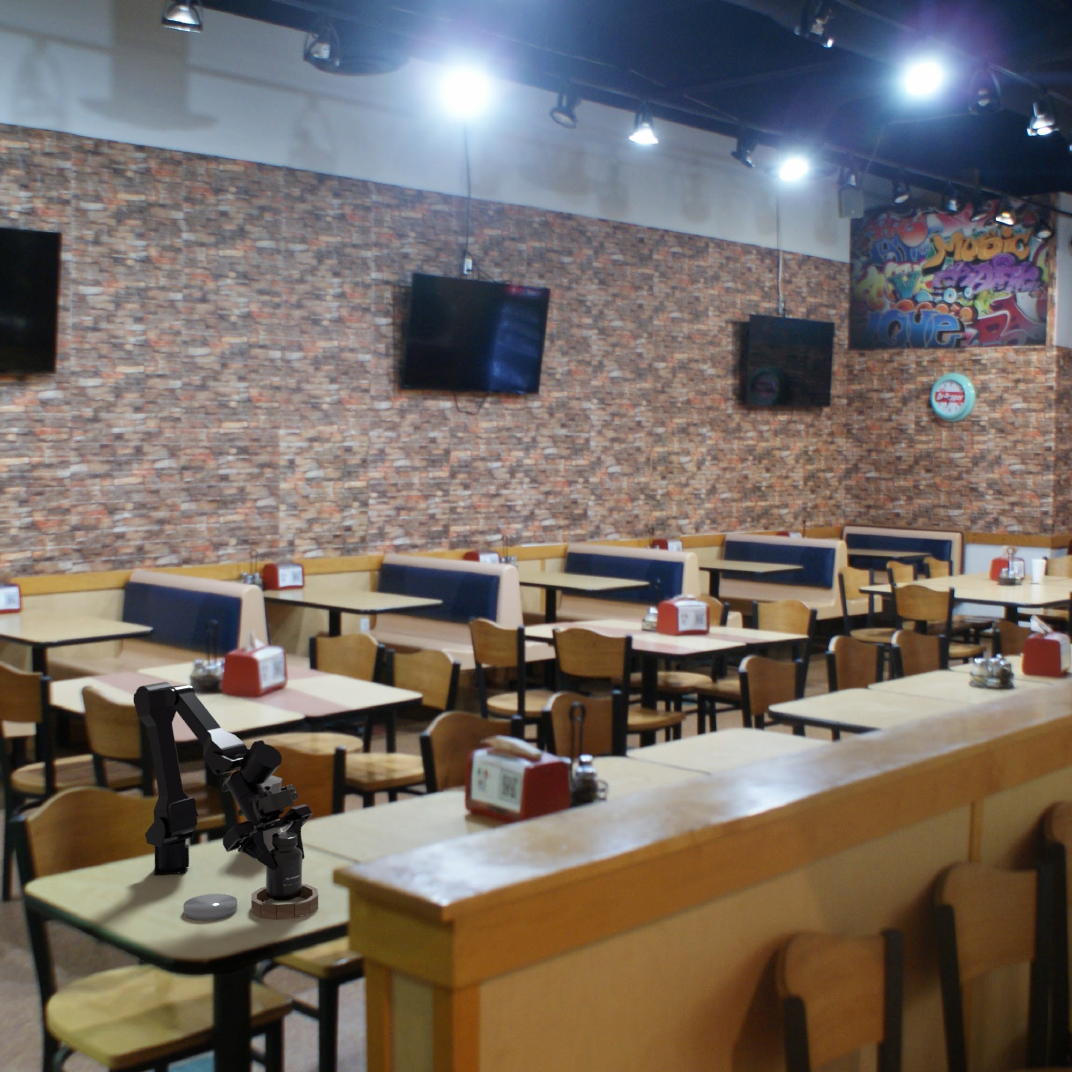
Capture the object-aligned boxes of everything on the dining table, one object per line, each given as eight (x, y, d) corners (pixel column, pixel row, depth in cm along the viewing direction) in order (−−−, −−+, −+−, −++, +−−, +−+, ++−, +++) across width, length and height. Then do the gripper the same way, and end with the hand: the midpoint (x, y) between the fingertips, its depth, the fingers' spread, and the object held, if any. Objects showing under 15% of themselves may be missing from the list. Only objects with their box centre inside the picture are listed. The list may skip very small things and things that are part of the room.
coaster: (182, 922, 234) (181, 914, 234) (184, 903, 244) (184, 895, 244) (236, 918, 236) (236, 910, 236) (237, 899, 246) (237, 892, 246)
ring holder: (251, 921, 235) (251, 908, 234) (251, 898, 247) (251, 885, 247) (319, 916, 237) (319, 903, 237) (316, 893, 250) (316, 881, 249)
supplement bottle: (293, 903, 238) (293, 842, 237) (260, 900, 239) (260, 839, 239) (307, 891, 245) (307, 831, 244) (274, 888, 246) (274, 828, 245)
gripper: (231, 783, 235) (271, 853, 229) (306, 764, 250) (345, 829, 244) (205, 816, 241) (243, 885, 235) (280, 795, 255) (317, 860, 250)
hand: (288, 863), depth 241 cm, fingers closed on supplement bottle, 7 cm apart
